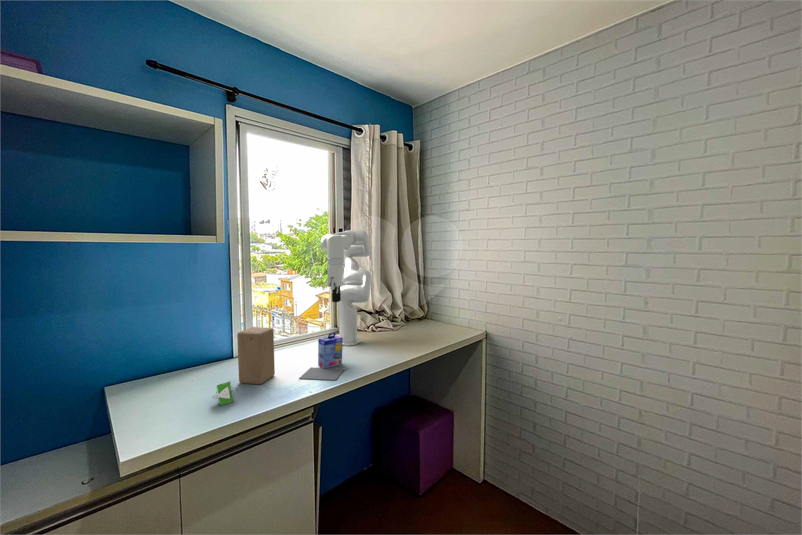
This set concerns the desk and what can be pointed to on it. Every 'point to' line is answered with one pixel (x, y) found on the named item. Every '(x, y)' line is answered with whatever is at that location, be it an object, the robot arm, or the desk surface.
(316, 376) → the mat
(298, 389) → the desk surface
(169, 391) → the desk surface
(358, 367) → the desk surface
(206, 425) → the desk surface
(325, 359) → the ink cartridge box
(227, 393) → the geometric puzzle
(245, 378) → the wooden block
